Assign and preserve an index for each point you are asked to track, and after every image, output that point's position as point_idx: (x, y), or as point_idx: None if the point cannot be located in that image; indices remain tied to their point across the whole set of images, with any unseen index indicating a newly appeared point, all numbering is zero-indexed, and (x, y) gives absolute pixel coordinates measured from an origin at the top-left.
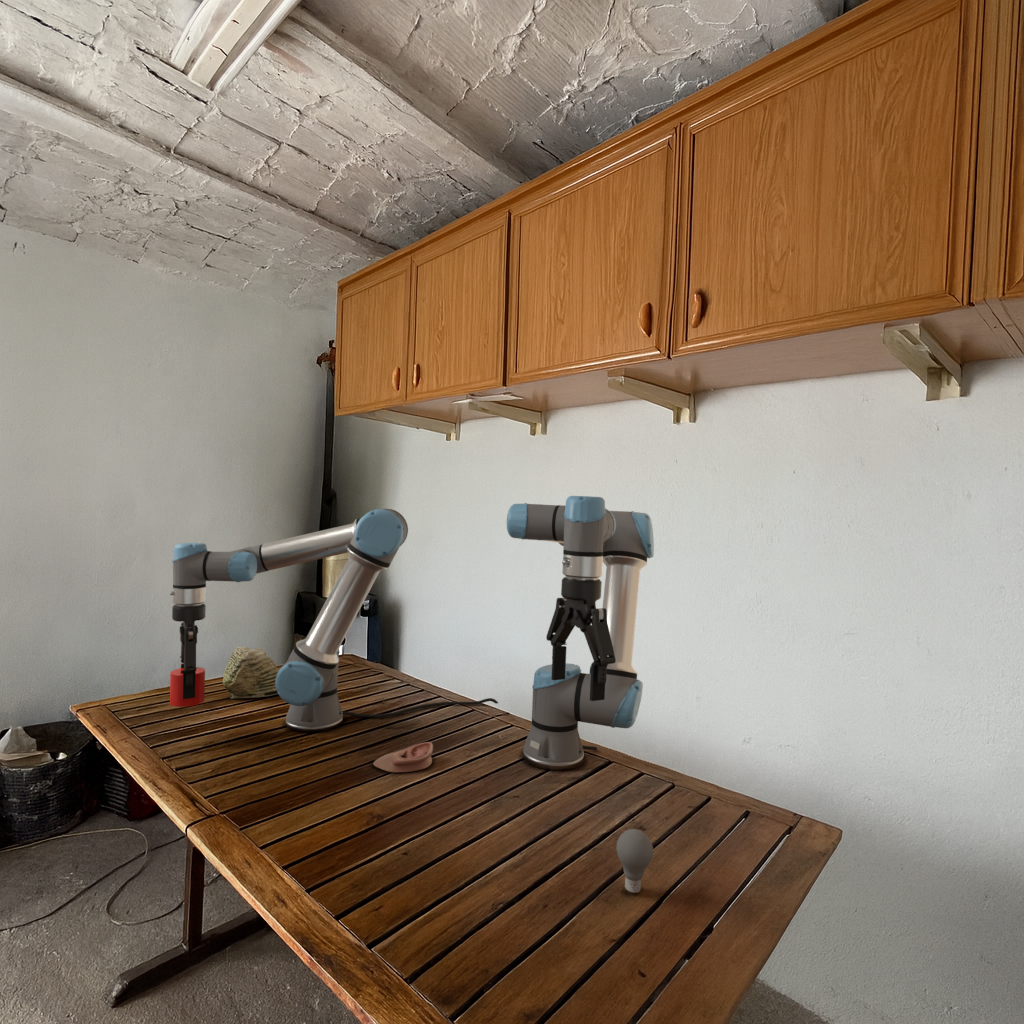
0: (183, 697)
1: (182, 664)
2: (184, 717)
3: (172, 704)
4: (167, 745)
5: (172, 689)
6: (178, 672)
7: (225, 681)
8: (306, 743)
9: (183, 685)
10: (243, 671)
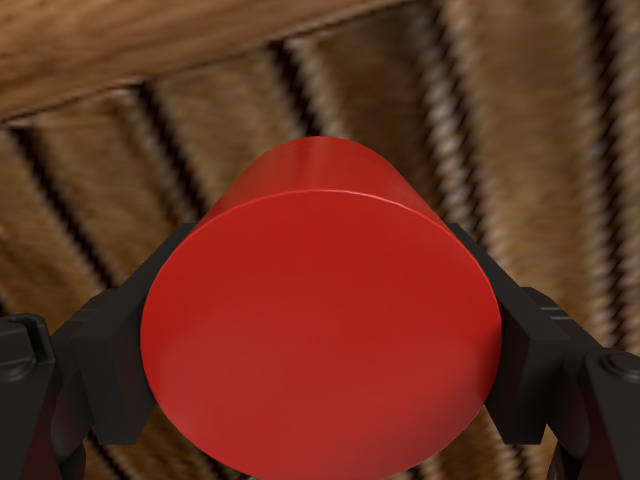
0: (180, 230)
1: (530, 352)
2: (590, 189)
3: (269, 151)
4: (279, 108)
5: (252, 171)
6: (301, 277)
7: None
8: (154, 467)
9: (141, 268)
10: None
